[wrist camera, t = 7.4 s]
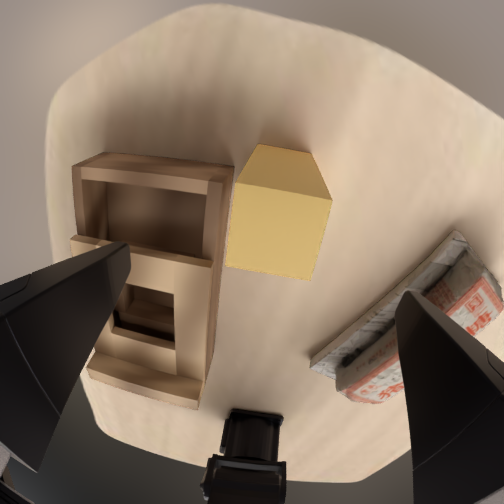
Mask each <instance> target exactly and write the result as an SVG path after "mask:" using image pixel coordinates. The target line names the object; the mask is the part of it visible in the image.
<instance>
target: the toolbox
mask: <svg viewBox="0 0 504 504" xmlns="http://www.w3.org/2000/svg"><path fill="white" fill-rule="evenodd" d="M233 173H234V166H228V165H221V164H214V163H206V162H199V161H191V160H182V159H174V158H164V157H155V156H144V155H132V154H119V153H104V152H103V153H101V154H98V155H96V156H94V157H91V158H89V159H87V160H84V161H82V162H80V163H78V164H76V165H73V166H72V182H73V196H74V207H75V217H76V226H77V234H78V235H81V236H86V237H91V238H96V239H101V240H106V241H111V242H116V241H120V242H125V243H128V244H129V245H131V246H136V247H141V248H147V249H152V250H157V251H162V252H167V253H173V254H178V255H183V256H188V257H194V258H199V259H204V260H210V261H214V264H213V275H212V287H211V299H210V311H209V324H208V338H207V353H206V369H205V383H206V379H207V375H208V372H209V368H210V364H211V360H212V357H213V352H214V341H215V331H216V320H217V310H218V301H219V291H220V282H221V272H222V263H223V254H224V246H225V237H226V229H227V220H228V212H229V204H230V196H231V189H232V181H233ZM112 314H113V319H114V324H115V327H119V328H122V329H126V330H129V331H133V332H136V333H140V334H144V335H147V336H151V337H155V338H159V339H163V340H167V341H171V342H175V327H174V294H172V293H167V292H163V291H158V290H154V289H150V288H145V287H141V286H137V285H132V284H128V283H125V285H124V287H123V290H122V292H121V294H120V297H119V299H118V301H117V304H116V306H115V308H114V310H113V312H112Z"/></svg>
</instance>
